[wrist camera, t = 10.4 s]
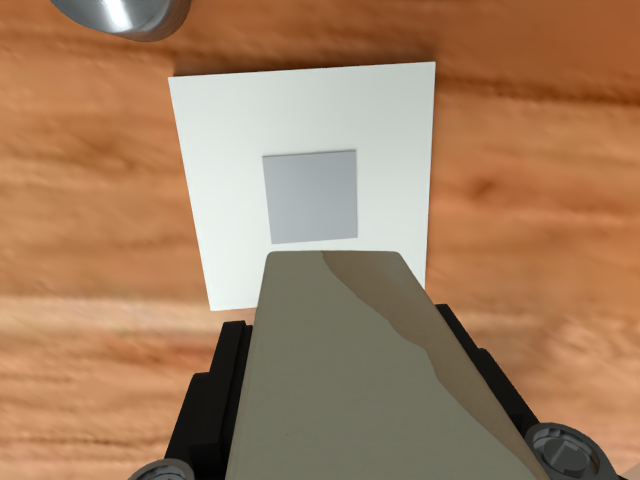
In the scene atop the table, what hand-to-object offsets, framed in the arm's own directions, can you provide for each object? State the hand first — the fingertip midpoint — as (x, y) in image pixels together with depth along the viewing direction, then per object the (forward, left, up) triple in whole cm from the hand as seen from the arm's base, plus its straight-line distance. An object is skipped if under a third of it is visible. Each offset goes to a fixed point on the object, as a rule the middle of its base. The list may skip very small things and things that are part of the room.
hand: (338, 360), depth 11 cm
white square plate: (0, 0, -18) cm, 18 cm away
